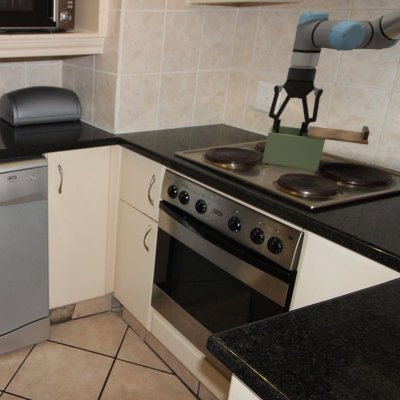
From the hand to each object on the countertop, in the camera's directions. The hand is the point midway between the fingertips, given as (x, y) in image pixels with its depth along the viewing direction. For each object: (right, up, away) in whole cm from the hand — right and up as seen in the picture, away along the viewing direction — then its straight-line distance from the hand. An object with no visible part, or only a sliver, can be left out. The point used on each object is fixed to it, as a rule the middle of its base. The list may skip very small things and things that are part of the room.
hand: (287, 141), depth 152 cm
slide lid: (+11, +1, -7) cm, 13 cm away
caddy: (+2, -6, +1) cm, 7 cm away
